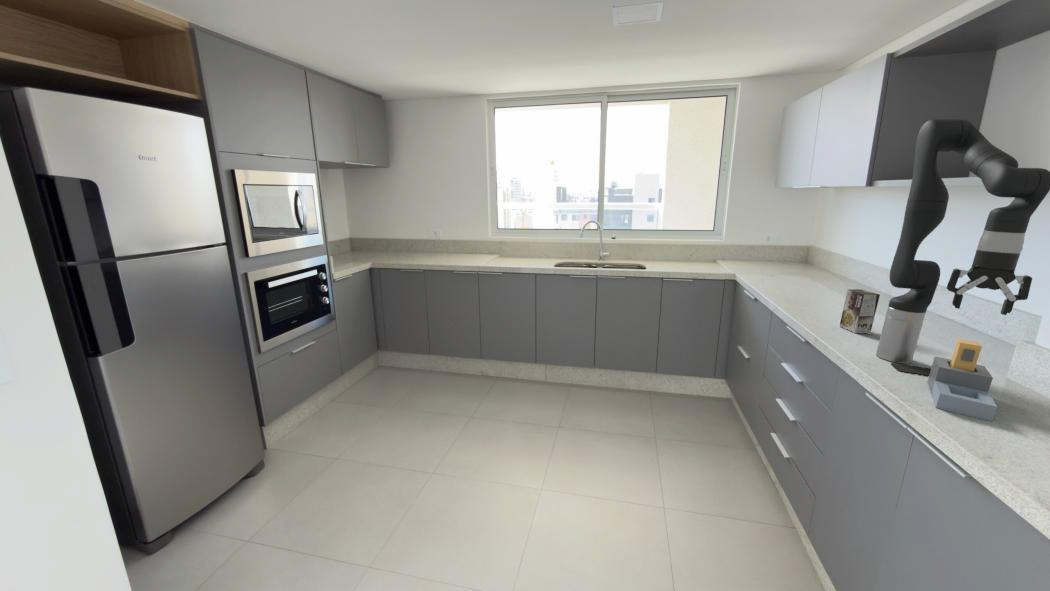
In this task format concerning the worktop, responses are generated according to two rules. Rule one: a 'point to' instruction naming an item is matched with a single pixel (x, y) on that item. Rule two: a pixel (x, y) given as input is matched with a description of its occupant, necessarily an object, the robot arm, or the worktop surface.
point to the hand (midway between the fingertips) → (979, 310)
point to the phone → (911, 369)
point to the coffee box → (859, 310)
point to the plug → (965, 355)
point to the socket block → (961, 389)
